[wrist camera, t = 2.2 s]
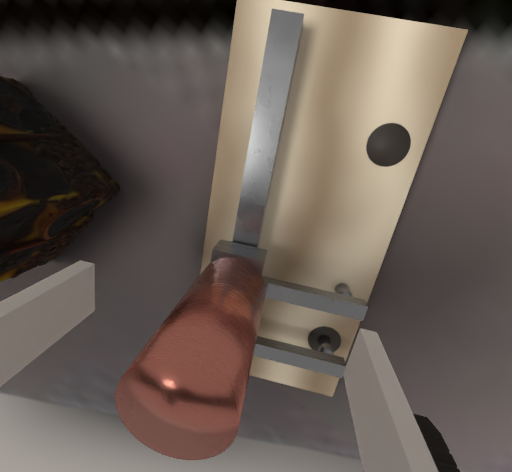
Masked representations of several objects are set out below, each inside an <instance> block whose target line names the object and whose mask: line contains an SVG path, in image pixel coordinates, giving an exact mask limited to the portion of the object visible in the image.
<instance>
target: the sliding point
mask: <svg viewBox="0 0 512 472" xmlns="http://www.w3.org/2000/svg"><path fill="white" fill-rule="evenodd" d="M266 255H267V250H266V249H261V248H257V247H252V246H248V245H244V244H239V243H235V242H230V241H226V240H222V239H221V240H220V241H219V242H218V243H217V244H216V246H215V247H214V248H213V249H212V256H211V262H210V264H209V265H208V266H207V267H206V268H205V269H204V270H203V272H202V273H201V274H200V276H199V277H198V278H197V279H196V281H195V282H194V283H193V285H192V286H191V287H190V289H189V290H188V291H187V293H186V294H185V295H184V296H183V298H182V299H181V300H180V302H179V303H178V304H177V306H176V307H175V308H174V310H173V311H172V312H171V314H170V315H169V316H168V317H167V319H166V320H165V321H164V323H163V324H162V325H161V327H160V328H159V329H158V331H157V332H156V333H155V334H154V336H153V337H152V338H151V340H150V341H149V342H148V344H147V345H146V346H145V348H144V349H143V350H142V352H141V353H140V354H139V355H138V357H137V358H136V359H135V361H134V362H133V363H132V365H131V366H130V367H129V369H128V370H127V371H126V373H125V374H124V375H123V376H122V378H121V379H120V381H119V383H118V385H117V388H116V393H115V403H116V408H117V411H118V414H119V416H120V418H121V420H122V422H123V423H124V425H125V427H126V428H127V429H128V430H129V431H130V433H131V434H132V435H134V437H135V438H136V439H138V440H139V441H140V442H141V443H143V444H144V445H146V446H147V447H149V448H151V449H153V450H154V451H156V452H159V453H161V454H163V455H167V456H169V457H173V458H177V459H184V460H201V459H207V458H209V457H213V456H216V455H218V454H220V453H222V452H223V451H225V450H226V449H227V448H228V447H229V446H230V445H231V443H232V442H233V441H234V439H235V437H236V435H237V432H238V427H239V423H240V418H241V413H242V408H243V403H244V398H245V394H246V389H247V384H248V379H249V374H250V369H251V364H252V360H253V355H254V350H255V345H256V340H257V335H258V331H259V326H260V321H261V316H262V311H263V306H264V301H265V298H269V299H273V300H277V301H282V302H286V303H290V304H294V305H298V306H302V307H307V308H311V309H315V310H319V311H323V312H327V313H332V314H336V315H340V316H344V317H348V318H352V319H356V320H361V321H363V320H364V317H365V315H366V312H367V309H368V305H367V303H366V301H365V300H364V299H359V298H355V297H353V296H352V293H351V290H350V288H349V286H348V285H347V284H345V283H340V284H338V285H336V287H335V293H334V292H329V291H325V290H321V289H317V288H312V287H308V286H304V285H300V284H295V283H291V282H287V281H283V280H278V279H274V278H270V277H266V276H262V273H263V268H264V264H265V259H266Z"/></svg>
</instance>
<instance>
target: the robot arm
mask: <svg viewBox="0 0 512 472" xmlns="http://www.w3.org/2000/svg"><path fill="white" fill-rule="evenodd" d="M94 311H95V264H93V263H89V262H85V261H81V260H80V261H78V262H76V263H74V264H72V265H70V266H68V267H66V268H65V269H63V270H61V271H59V272H57V273H55V274H53V275H51V276H49V277H47V278H45V279H43V280H41V281H39V282H37V283H35V284H34V285H32V286H30V287H28V288H26V289H24V290H22V291H20V292H18V293H16V294H14V295H12V296H10V297H8V298H6V299H4V300H2V301H1V302H0V387H1V386H2V385H3V384H4V383H6V382H7V381H8V380H9V379H11V378H12V377H13V376H14V375H16V374H17V373H18V372H19V371H21V370H22V369H23V368H24V367H26V366H27V365H28V364H29V363H30V362H32V361H33V360H34V359H35V358H37V357H38V356H39V355H40V354H42V353H43V352H44V351H45V350H47V349H48V348H49V347H50V346H52V345H53V344H54V343H55V342H57V341H58V340H59V339H60V338H62V337H63V336H64V335H65V334H67V333H68V332H69V331H70V330H72V329H73V328H74V327H75V326H77V325H78V324H79V323H80V322H82V321H83V320H84V319H85V318H86V317H88V316H89V315H90V314H91V313H93V312H94ZM343 377H344V381H345V386H346V391H347V396H348V400H349V405H350V410H351V415H352V420H353V424H354V429H355V434H356V439H357V443H358V448H359V453H360V458H361V463H362V467H363V472H460V471H459V469H457V465H456V463H455V461H454V459H453V457H452V455H451V454H450V453H449V449H448V447H447V445H446V443H445V441H444V439H443V437H442V435H441V433H440V432H439V431H438V430H437V429H436V427H435V426H434V425H433V424H432V423H431V421H430V420H429V419H428V418H427V417H424V416H420V415H416V414H413V413H412V411H411V408H410V406H409V404H408V401H407V399H406V397H405V395H404V392H403V390H402V388H401V386H400V383H399V381H398V379H397V377H396V374H395V372H394V370H393V368H392V365H391V363H390V361H389V358H388V356H387V354H386V352H385V349H384V347H383V345H382V343H381V340H380V338H379V336H378V334H377V332H374V331H370V330H366V329H361V328H360V330H359V333H358V335H357V338H356V341H355V343H354V346H353V349H352V351H351V354H350V357H349V359H348V362H347V365H346V367H345V370H344V373H343Z"/></svg>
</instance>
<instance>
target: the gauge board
mask: <svg viewBox="0 0 512 472" xmlns="http://www.w3.org/2000/svg"><path fill="white" fill-rule="evenodd" d="M272 9H278V10H284V11H290V12H297V13H303V14H304V24H303V31H302V36H301V40H300V45H299V50H298V55H297V60H296V65H295V70H294V75H293V80H292V85H291V89H290V94H289V99H288V104H287V109H286V114H285V119H284V124H283V129H282V133H281V138H280V143H279V148H278V153H277V158H276V163H275V168H274V173H273V178H272V182H271V187H270V192H269V197H268V202H267V207H266V212H265V217H264V222H263V227H262V231H261V236H260V241H259V246H258V248H261V249H266V250H267V255H266V259H265V264H264V268H263V273H262V276H266V277H270V278H274V279H278V280H283V281H287V282H291V283H295V284H300V285H304V286H308V287H312V288H317V289H321V290H325V291H329V292H334V293H335V287H336V285H338V284H340V283H345V284H347V285H348V286H349V288H350V290H351V293H352V296H353V297H355V298H359V299H364V300H365V301H366V303H367V302H368V300H369V297H370V294H371V292H372V289H373V286H374V283H375V281H376V278H377V275H378V273H379V270H380V267H381V265H382V262H383V259H384V256H385V254H386V251H387V248H388V246H389V243H390V240H391V238H392V235H393V232H394V229H395V227H396V224H397V221H398V219H399V216H400V213H401V211H402V208H403V205H404V202H405V200H406V197H407V194H408V192H409V189H410V186H411V183H412V181H413V178H414V175H415V173H416V170H417V167H418V165H419V162H420V159H421V156H422V154H423V151H424V148H425V146H426V143H427V140H428V138H429V135H430V132H431V129H432V127H433V124H434V121H435V119H436V116H437V113H438V110H439V108H440V105H441V102H442V100H443V97H444V94H445V92H446V89H447V86H448V83H449V81H450V78H451V75H452V73H453V70H454V67H455V65H456V62H457V59H458V56H459V54H460V51H461V48H462V46H463V43H464V40H465V37H466V35H467V32H468V30H466V29H459V28H453V27H447V26H440V25H434V24H428V23H422V22H415V21H409V20H403V19H396V18H390V17H384V16H378V15H371V14H365V13H359V12H353V11H346V10H340V9H334V8H327V7H321V6H315V5H309V4H302V3H296V2H290V1H283V0H237V4H236V11H235V19H234V26H233V34H232V41H231V48H230V56H229V63H228V71H227V78H226V86H225V93H224V100H223V108H222V115H221V123H220V130H219V138H218V145H217V152H216V160H215V167H214V175H213V182H212V190H211V197H210V204H209V212H208V219H207V227H206V234H205V242H204V249H203V256H202V264H201V271H200V274H201V273H202V272H203V270H204V269H205V268H206V267H207V266H208V265H209V264H210V262H211V256H212V249H213V248H214V247H215V246H216V244H217V243H218V242H219V241H220V240H221V239H222V240H226V241H230V242H232V241H233V235H234V229H235V223H236V217H237V211H238V205H239V199H240V193H241V188H242V182H243V176H244V170H245V164H246V158H247V152H248V146H249V141H250V135H251V129H252V123H253V117H254V111H255V105H256V99H257V93H258V88H259V82H260V76H261V70H262V64H263V58H264V52H265V46H266V40H267V35H268V29H269V23H270V17H271V11H272ZM360 321H361V320H356V319H352V318H348V317H344V316H340V315H336V314H332V313H327V312H323V311H319V310H315V309H311V308H307V307H302V306H298V305H294V304H290V303H286V302H282V301H277V300H273V299H269V298H265V301H264V306H263V311H262V316H261V321H260V326H259V331H258V335H257V336H260V337H264V338H268V339H272V340H276V341H280V342H284V343H288V344H292V345H296V346H300V347H304V348H308V349H312V350H316V351H319V350H318V341H317V340H318V338H319V337H320V336H321V335H327V336H329V337H330V338H331V342H332V347H333V353H334V355H336V356H340V357H344V360H345V362H346V359H347V356H348V354H349V351H350V348H351V346H352V343H353V340H354V338H355V335H356V332H357V329H358V327H359V324H360ZM249 375H251V376H255V377H258V378H262V379H266V380H270V381H274V382H277V383H281V384H285V385H289V386H293V387H296V388H300V389H304V390H308V391H312V392H315V393H319V394H323V395H327V396H331V397H333V394H334V392H335V389H336V386H337V384H338V381H339V378H338V377H334V376H330V375H326V374H322V373H318V372H315V371H311V370H307V369H303V368H299V367H295V366H291V365H287V364H283V363H280V362H276V361H272V360H268V359H264V358H260V357H256V356H253V360H252V364H251V369H250V374H249Z"/></svg>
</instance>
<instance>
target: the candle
mask: <svg viewBox="0 0 512 472" xmlns="http://www.w3.org/2000/svg"><path fill="white" fill-rule="evenodd" d="M119 189H120V188H119V184H118V183H116V182H114V181H112V180H111V177H110V176H109V175H108V173H107V172H106V171H105V170H103V169H102V168H101V167H100V166H99V164H98V162H97V161H96V159H95V158H94V157H93V156H92V155H90V154H89V153H88V152H87V151H86V150H85V149H84V147H83V146H82V145H81V144H80V143H79V141H78V140H77V139H75V138H74V137H73V136H72V135H71V134H70V133H68V132H67V130H66V128H65V127H64V126H63V125H61V124H60V123H59V122H58V121H57V119H56V118H55V117H54V116H52V115H51V114H50V113H49V112H48V111H47V110H46V109H45V108H44V107H43V106H42V105H40V104H39V102H38V101H37V100H36V99H35V98H34V97H33V96H32V94H31V93H30V91H29V90H28V88H27V87H26V86H24V85H22V84H21V83H19V82H18V81H16V80H14V79H12V78H11V79H10V78H5V77H1V76H0V282H1V281H4V280H6V279H9V278H15V277H16V276H18V275H20V274H21V273H23V272H26V271H28V270H31V269H32V268H34V267H37V266H38V265H40V266H41V265H44V264H46V263H48V262H49V261H51V260H53V259H54V258H55V257H56V256H57V255H58V253H59V252H60V251H61V250H62V249H63V248H64V247H65V246H67V245H69V244H70V242H71V241H72V240H73V239H74V238H75V237H76V236H77V235H78V233H79V232H81V231H82V230H83V229H84V228H85V227H86V226H87V224H88V222H91V221H92V213H93V211H94V210H95V209H96V208H98V207H99V206H101V205H102V204H103V203H105V202H107V201H109V200H111V198H112V197H113V196H115V195H116V193H117V192H118V190H119Z"/></svg>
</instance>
